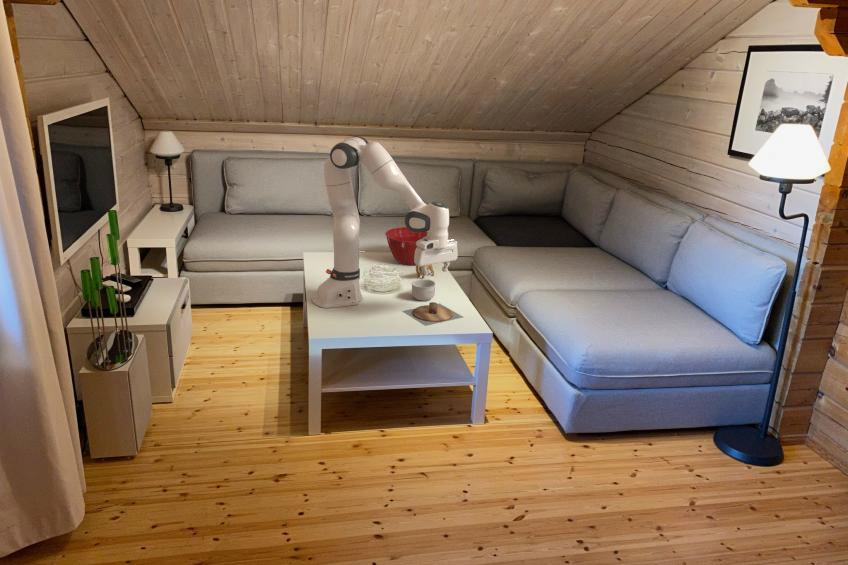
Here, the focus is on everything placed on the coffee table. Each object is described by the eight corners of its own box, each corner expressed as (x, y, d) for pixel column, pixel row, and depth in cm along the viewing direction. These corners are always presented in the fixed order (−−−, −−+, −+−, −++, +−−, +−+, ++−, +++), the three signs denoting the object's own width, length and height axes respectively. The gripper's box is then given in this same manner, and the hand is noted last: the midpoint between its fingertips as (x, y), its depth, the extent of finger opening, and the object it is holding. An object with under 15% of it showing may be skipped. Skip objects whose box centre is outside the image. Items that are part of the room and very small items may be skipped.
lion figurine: (422, 282, 327) (423, 264, 324) (412, 280, 329) (413, 262, 326) (436, 274, 339) (437, 257, 336) (427, 272, 342) (428, 255, 339)
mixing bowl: (433, 272, 342) (435, 243, 337) (379, 266, 346) (380, 238, 341) (440, 256, 369) (442, 229, 363) (390, 251, 372) (391, 224, 367)
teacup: (432, 304, 299) (433, 287, 297) (408, 301, 301) (409, 285, 298) (437, 294, 312) (438, 278, 309) (415, 291, 314) (415, 275, 311)
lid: (427, 324, 276) (428, 313, 275) (405, 310, 289) (406, 300, 288) (460, 317, 286) (461, 307, 284) (437, 304, 299) (438, 294, 297)
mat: (425, 326, 275) (425, 325, 275) (402, 311, 289) (402, 311, 289) (463, 318, 286) (463, 317, 286) (439, 304, 300) (439, 303, 300)
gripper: (452, 236, 285) (450, 267, 289) (412, 242, 274) (411, 274, 278) (461, 240, 280) (459, 271, 285) (421, 246, 269) (419, 278, 273)
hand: (435, 272), depth 281 cm, fingers open, 8 cm apart
